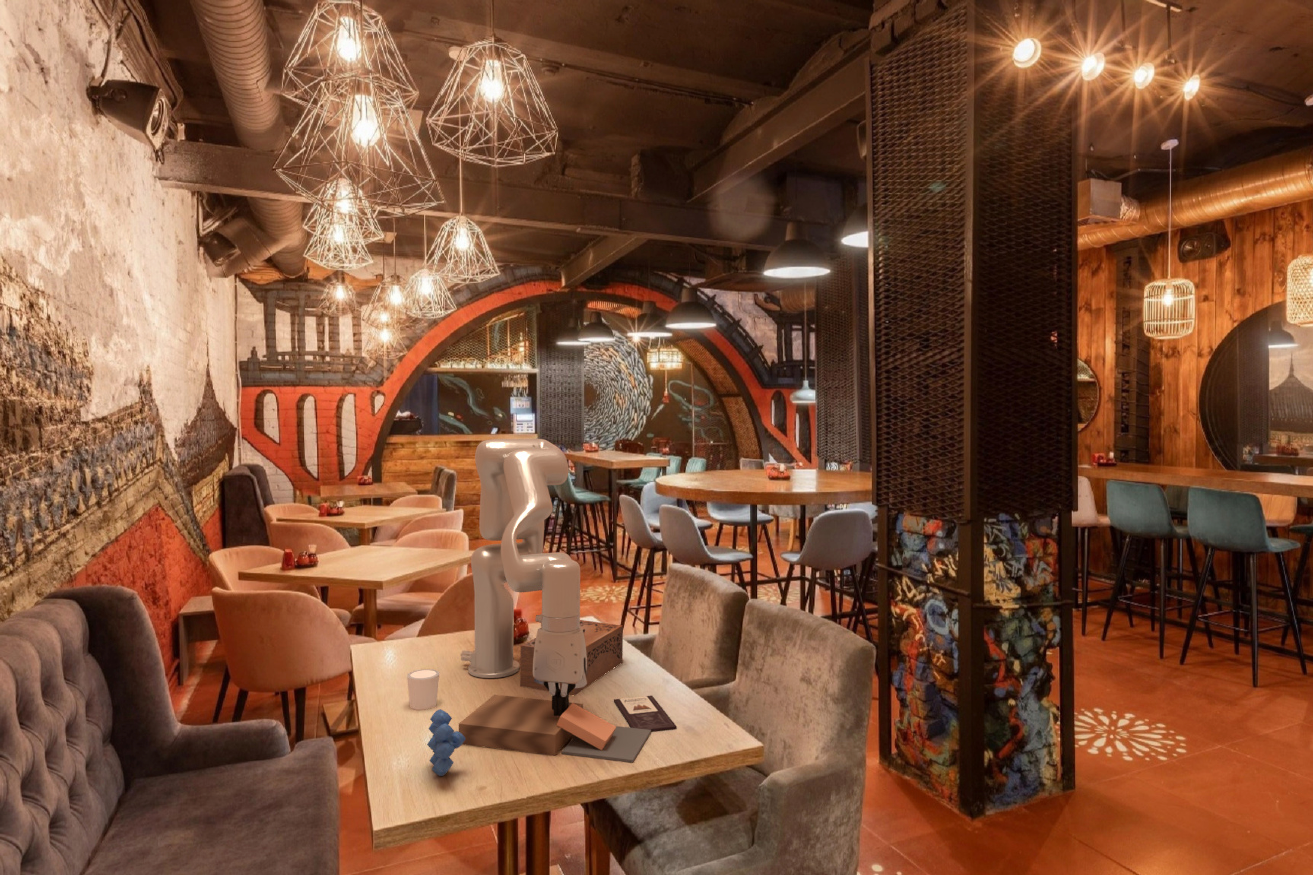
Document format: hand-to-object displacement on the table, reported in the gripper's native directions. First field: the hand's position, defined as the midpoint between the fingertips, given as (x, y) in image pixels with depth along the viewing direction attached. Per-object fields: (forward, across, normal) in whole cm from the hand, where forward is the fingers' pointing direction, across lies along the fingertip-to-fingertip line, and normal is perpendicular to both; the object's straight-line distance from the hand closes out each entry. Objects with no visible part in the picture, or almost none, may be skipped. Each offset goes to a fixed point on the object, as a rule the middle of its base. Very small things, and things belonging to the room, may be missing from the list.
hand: (560, 713), depth 154 cm
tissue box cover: (+5, -10, +36) cm, 38 cm away
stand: (+5, -8, 0) cm, 9 cm away
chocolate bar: (+6, +13, +16) cm, 21 cm away
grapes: (+5, -14, -20) cm, 25 cm away
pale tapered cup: (+5, -35, +8) cm, 36 cm away
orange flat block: (+2, +6, -1) cm, 6 cm away
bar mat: (+5, +10, 0) cm, 11 cm away
